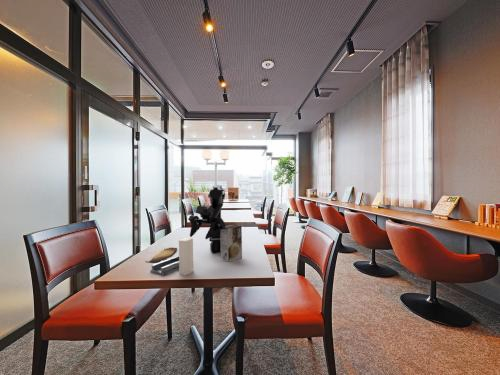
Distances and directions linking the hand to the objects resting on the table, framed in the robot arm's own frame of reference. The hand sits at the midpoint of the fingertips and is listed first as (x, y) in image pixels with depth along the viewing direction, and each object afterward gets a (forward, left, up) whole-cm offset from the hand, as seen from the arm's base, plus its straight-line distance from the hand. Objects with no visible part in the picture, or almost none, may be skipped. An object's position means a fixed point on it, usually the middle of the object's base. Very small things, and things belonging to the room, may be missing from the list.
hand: (197, 237), depth 105 cm
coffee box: (-18, -5, -14) cm, 23 cm away
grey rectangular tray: (+10, -5, -13) cm, 17 cm away
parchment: (+12, -26, -14) cm, 32 cm away
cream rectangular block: (+6, +4, -13) cm, 15 cm away
